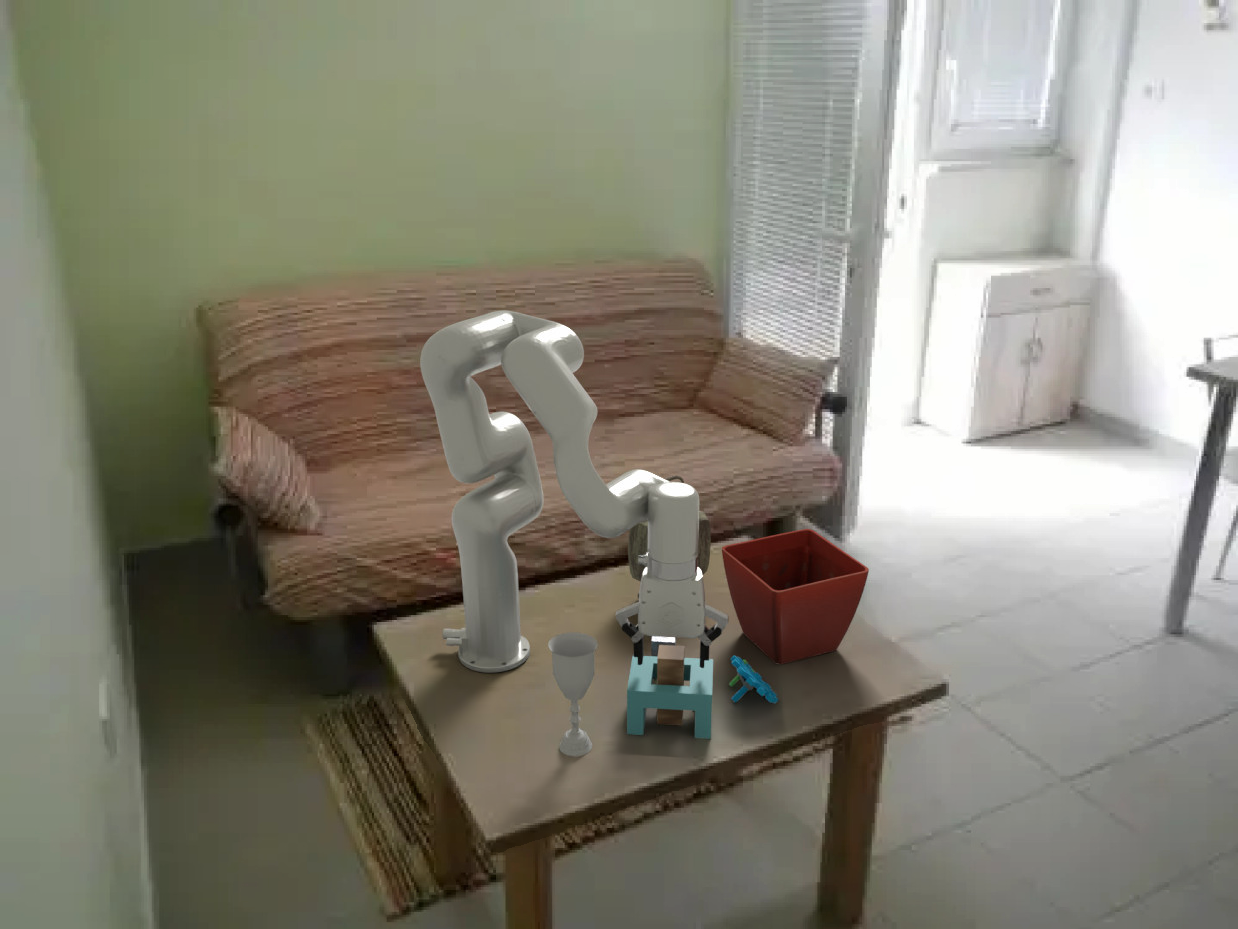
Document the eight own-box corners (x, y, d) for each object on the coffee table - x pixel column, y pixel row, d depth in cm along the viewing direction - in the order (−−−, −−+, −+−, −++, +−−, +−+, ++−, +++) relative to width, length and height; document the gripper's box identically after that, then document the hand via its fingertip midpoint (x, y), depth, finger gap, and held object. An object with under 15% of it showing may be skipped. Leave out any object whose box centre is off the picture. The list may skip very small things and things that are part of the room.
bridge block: (627, 734, 161) (627, 690, 158) (632, 697, 170) (632, 655, 167) (710, 738, 160) (712, 694, 157) (711, 701, 169) (713, 659, 166)
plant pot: (716, 627, 191) (719, 545, 185) (804, 606, 198) (810, 526, 192) (770, 680, 175) (775, 592, 168) (864, 656, 181) (872, 570, 175)
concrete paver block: (651, 671, 177) (651, 641, 175) (652, 659, 181) (652, 629, 179) (674, 672, 177) (674, 642, 175) (675, 660, 181) (676, 630, 178)
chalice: (547, 757, 156) (543, 654, 149) (557, 730, 162) (554, 630, 155) (594, 762, 154) (592, 659, 148) (603, 735, 161) (601, 634, 154)
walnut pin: (656, 724, 163) (657, 658, 159) (658, 709, 167) (659, 644, 163) (682, 725, 163) (683, 660, 159) (683, 710, 167) (684, 646, 162)
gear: (787, 707, 164) (744, 669, 162) (762, 733, 165) (718, 695, 163) (770, 677, 175) (729, 641, 173) (745, 701, 176) (704, 666, 173)
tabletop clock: (679, 576, 210) (681, 461, 201) (712, 591, 204) (716, 474, 194) (628, 600, 201) (627, 481, 191) (661, 617, 194) (662, 495, 185)
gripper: (612, 573, 152) (613, 672, 158) (730, 577, 151) (726, 678, 157) (617, 550, 159) (618, 646, 165) (730, 554, 157) (727, 651, 164)
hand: (671, 661), depth 161 cm, fingers open, 9 cm apart
